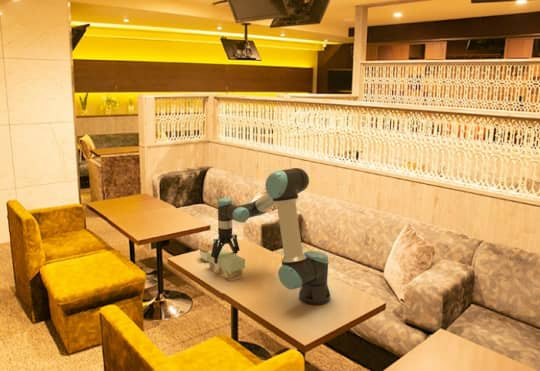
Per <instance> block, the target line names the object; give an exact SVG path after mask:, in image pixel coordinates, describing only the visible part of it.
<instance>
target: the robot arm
mask: <svg viewBox="0 0 540 371" xmlns="http://www.w3.org/2000/svg"><path fill="white" fill-rule="evenodd" d="M309 185H310V177H309V174H308V172H307V171H305V170H304V169H303V168H300V167H293V168H289V169H281V170H276V171H273V172H271V173H270V174H268V177H267V178H266V180H265V186H264V187H265V192H266V193H265V194H263V195H262V196H260V197H258V199H256V200H254V201H252V202H249V203H245V204H240V205H235V204H233V199H231V198H229V197H223V198H219V199H218V200H217V226H218V228H217V233H218V234H217V235H218V237H217V238H213V239H212V240H213V248H212V253H211V257H213V258H214V263H215V264H216V269H218V270H219V269H220V266H219V257H218V256H219V254H220V252H221V249H222V248H223V247H224V246H225V245H229V247H230V249H231V251H232V252H231V251H230V252H231V253H233V254H235V255H237V254H238V253H239V251H240V245H239V242H238V235H237V234H235V233H233V221H235V222H238V223H246V221H248V220H249V219H250V218H253V217H254V218H255V217H258V216H262V215H265V214H266V213H267V211H268V210H270V209H271V208H273V207H275V206H276V207H277V208H276V210H277V214H278V223H279V230H280V235H281V236H280V237H281V242H282V249H283V257H282V259H281V266H280V267H279V269H278V271H277V277H278V279H279V281H280V282H281V284H282V285H283V287H284V288H286V289H288V290H297V289H299V293H298V299H299V300H300V302H302V303H304V304H307V305H312V306H321V305H325V304H327V303H329V302H330V301H331V292H330V289H329V285H328V277H329V276H328V275H329V274H328V273H329V272H328V271H329V264H330V263H329V256H328V255H327V254H326V253H324V252H321V251H315V250H308V251H305V252H304V251H303V245H302V240H301V232H300V225H299V224H300V223H299V218H298V212H297V210H298V209H297V205H296V204H297V203H296V202H297V201H298V199H299V194H300V193H302V192H303V191H305V190H306V189H307V188H308V187H309Z"/></svg>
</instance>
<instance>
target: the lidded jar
mask: <svg viewBox="0 0 540 371" xmlns="http://www.w3.org/2000/svg"><path fill="white" fill-rule="evenodd" d="M213 244H214V243H213ZM213 244H212V243H209V244H202V245H200V246H199V254H200V257H201V259H202V260H203V261H204V262H207V263H209V261H208V260H207V252H208V251H211V250H212V248H213Z"/></svg>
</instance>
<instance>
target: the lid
mask: <svg viewBox="0 0 540 371" xmlns="http://www.w3.org/2000/svg"><path fill="white" fill-rule="evenodd" d="M211 253H212V250H211V251H208V252H207V260H208V261H209V262H211V263H213V264H215V263H214V258H213V257H211ZM218 257H219V266H220V268H222V269H224V270H226V271H228V272H234V271H237V270H240V269H242V270H243V269H245V268H246V259H245V258H244V257H241V256H239V255H237V254H236V255H235V254H233V253H231V251H229V250H227V249H225V248H223V247H222V249H221V252H220V254H219V256H218ZM209 262H208V263H209ZM215 265H216V264H215Z"/></svg>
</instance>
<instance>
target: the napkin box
mask: <svg viewBox="0 0 540 371" xmlns="http://www.w3.org/2000/svg"><path fill="white" fill-rule="evenodd" d="M208 266H209V267H208V268H209V270H210V271H212V272H214V273H215V274H217V275H219V276H220V277H222V278H224V279H226V280H227V281H229V282H232V281H235V280H238V279H242V278H243V269H240V270H237V271H234V272H228V271H226V270H224V269H222V268H220V269H219V270H218V269H216V265H215V264H213V263H211V262H208Z"/></svg>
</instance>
